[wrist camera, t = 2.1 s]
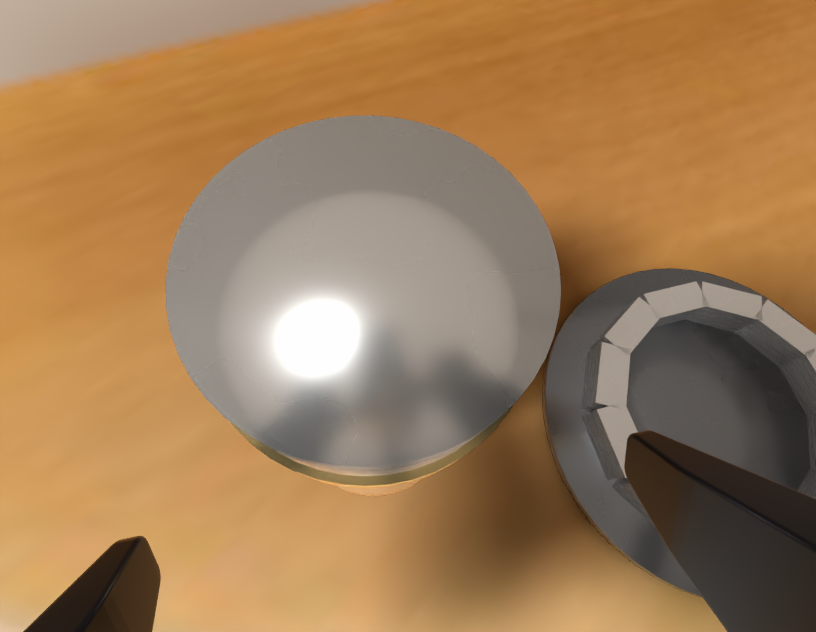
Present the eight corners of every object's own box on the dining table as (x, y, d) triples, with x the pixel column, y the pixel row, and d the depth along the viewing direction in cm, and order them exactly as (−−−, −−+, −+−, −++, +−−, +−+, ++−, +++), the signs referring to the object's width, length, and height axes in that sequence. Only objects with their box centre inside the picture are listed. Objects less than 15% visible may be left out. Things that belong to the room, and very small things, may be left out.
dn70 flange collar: (915, 417, 21) (967, 408, 19) (769, 697, 17) (818, 720, 15) (654, 223, 24) (677, 199, 22) (475, 415, 20) (485, 404, 18)
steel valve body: (487, 415, 20) (647, 270, 8) (372, 539, 18) (357, 595, 6) (377, 310, 22) (375, 58, 10) (260, 413, 19) (70, 256, 7)
